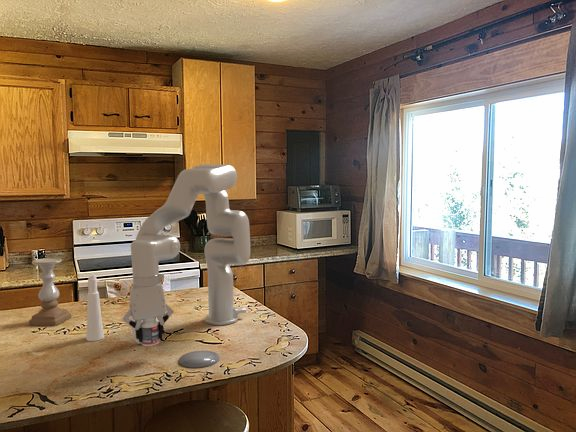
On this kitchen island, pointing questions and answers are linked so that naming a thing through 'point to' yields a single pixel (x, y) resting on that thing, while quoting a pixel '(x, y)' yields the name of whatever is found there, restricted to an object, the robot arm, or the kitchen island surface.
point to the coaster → (199, 359)
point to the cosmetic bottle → (93, 312)
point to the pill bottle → (150, 332)
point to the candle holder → (49, 297)
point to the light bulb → (135, 331)
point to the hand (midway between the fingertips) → (150, 338)
